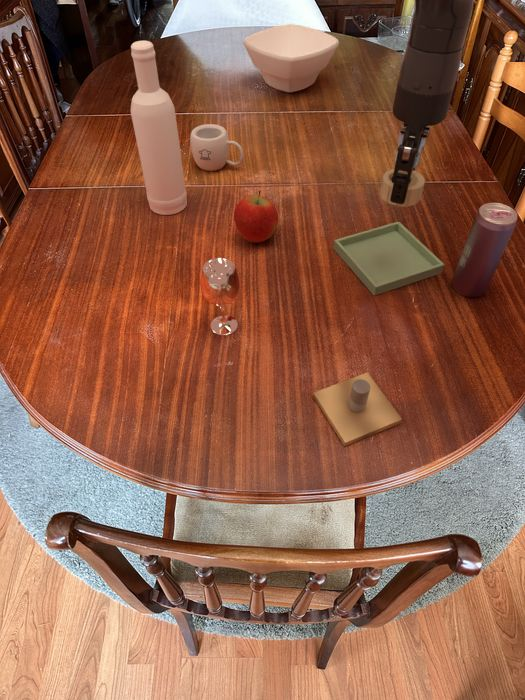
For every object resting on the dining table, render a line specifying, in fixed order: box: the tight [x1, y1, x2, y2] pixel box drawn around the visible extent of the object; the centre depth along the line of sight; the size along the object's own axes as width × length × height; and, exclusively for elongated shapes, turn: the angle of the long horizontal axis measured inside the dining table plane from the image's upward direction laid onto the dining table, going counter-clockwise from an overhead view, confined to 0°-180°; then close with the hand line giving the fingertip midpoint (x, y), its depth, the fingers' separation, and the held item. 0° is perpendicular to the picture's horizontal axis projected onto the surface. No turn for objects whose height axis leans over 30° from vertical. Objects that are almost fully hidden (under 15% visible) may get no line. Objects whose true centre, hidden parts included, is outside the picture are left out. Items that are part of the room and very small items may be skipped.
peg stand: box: [312, 372, 403, 447], centre depth 69 cm, size 9×9×6 cm
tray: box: [333, 221, 445, 296], centre depth 92 cm, size 14×14×2 cm
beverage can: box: [451, 202, 518, 298], centre depth 82 cm, size 6×6×15 cm
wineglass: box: [200, 257, 241, 336], centre depth 78 cm, size 6×6×12 cm
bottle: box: [130, 40, 188, 216], centre depth 94 cm, size 8×8×30 cm
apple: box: [233, 190, 279, 244], centre depth 94 cm, size 8×8×10 cm
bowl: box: [242, 23, 340, 93], centre depth 139 cm, size 22×22×12 cm
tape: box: [379, 168, 426, 208], centre depth 81 cm, size 6×6×3 cm
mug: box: [189, 123, 244, 172], centre depth 112 cm, size 12×8×8 cm
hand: (401, 189), depth 81 cm, fingers closed on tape, 6 cm apart
